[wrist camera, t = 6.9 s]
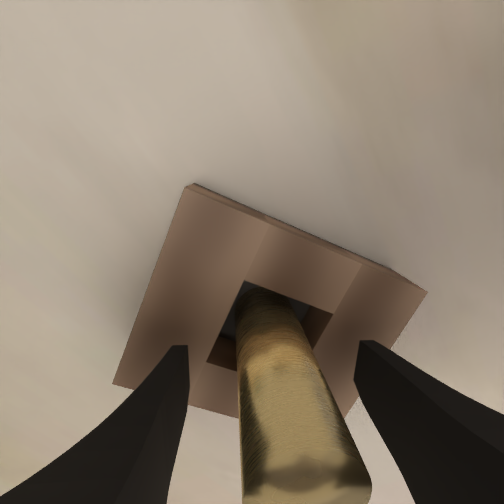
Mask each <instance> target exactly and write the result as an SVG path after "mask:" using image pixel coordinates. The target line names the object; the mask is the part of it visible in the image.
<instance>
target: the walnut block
mask: <svg viewBox="0 0 504 504" xmlns="http://www.w3.org/2000/svg"><path fill="white" fill-rule="evenodd" d="M259 286H261V287H264V288H266V289H269V290H272V291H274V292H277V293H280V294H282V295H285V296H287V297H288V298H289V300H290V302H291V305H292V307H293V309H294V311H295V313H296V316H297V318H298V320H299V322H300V324H301V326H302V329H303V331H304V333H305V335H306V337H307V340H308V342H309V344H310V346H311V348H312V351H313V353H314V355H315V357H316V359H317V361H318V364H319V366H320V368H321V370H322V372H323V375H324V377H325V379H326V381H327V383H328V386H329V388H330V390H331V392H332V394H333V396H334V399H335V401H336V403H337V405H338V407H339V410H340V412H341V414H342V416H343V418H345V416H346V415H347V413H348V412H349V410H350V409H351V407H352V406H353V404H354V403H355V401H356V400H357V398H358V397H359V393H358V391H357V388H356V386H355V383H354V381H353V378H354V372H355V366H356V359H357V353H358V347H359V341H360V340H374V341H376V342H378V343H380V344H381V345H383V346H385V347H386V348H388V349H389V350H390V349H391V347H392V346H393V344H394V342H395V341H396V339H397V338H398V336H399V335H400V333H401V332H402V330H403V329H404V327H405V326H406V324H407V323H408V321H409V320H410V318H411V317H412V315H413V314H414V312H415V311H416V309H417V308H418V306H419V305H420V303H421V302H422V300H423V299H424V297H425V296H426V294H427V293H428V292H427V291H425V290H424V289H422V288H420V287H419V286H417V285H416V284H414V283H412V282H411V281H409V280H408V279H406V278H405V277H403V276H401V275H400V274H398V273H397V272H395V271H393V270H392V269H389V268H387V267H385V266H383V265H380V264H378V263H376V262H373V261H371V260H369V259H367V258H364V257H362V256H360V255H357V254H355V253H353V252H351V251H348V250H346V249H344V248H341V247H339V246H337V245H335V244H332V243H330V242H328V241H325V240H323V239H321V238H319V237H316V236H314V235H312V234H309V233H307V232H305V231H303V230H300V229H298V228H296V227H293V226H291V225H289V224H287V223H284V222H282V221H280V220H277V219H275V218H273V217H271V216H268V215H266V214H264V213H261V212H259V211H257V210H255V209H252V208H250V207H248V206H245V205H243V204H241V203H238V202H236V201H234V200H232V199H229V198H227V197H225V196H222V195H220V194H218V193H216V192H213V191H211V190H209V189H206V188H204V187H202V186H200V185H197V184H195V183H193V184H191V185H189V186H187V187H185V188H184V190H183V193H182V196H181V198H180V201H179V204H178V207H177V209H176V212H175V215H174V217H173V220H172V223H171V226H170V228H169V231H168V234H167V236H166V239H165V242H164V245H163V247H162V250H161V253H160V255H159V258H158V261H157V264H156V266H155V269H154V272H153V274H152V277H151V280H150V283H149V285H148V288H147V291H146V293H145V296H144V299H143V302H142V304H141V307H140V310H139V312H138V315H137V318H136V321H135V323H134V326H133V329H132V331H131V334H130V337H129V340H128V342H127V345H126V348H125V350H124V353H123V356H122V359H121V361H120V364H119V367H118V369H117V372H116V375H115V378H114V380H113V383H112V384H114V385H118V386H122V387H125V388H129V389H133V390H135V389H136V388H137V387H138V386H139V385H140V384H141V383H142V382H143V381H144V379H145V378H146V377H147V376H148V375H149V373H150V372H151V371H152V370H153V369H154V368H155V366H156V365H157V364H158V363H159V361H160V360H161V359H162V358H163V356H164V355H165V354H166V352H167V351H168V350H169V348H170V347H171V346H172V345H188V355H189V374H190V391H189V399H188V405H191V406H195V407H198V408H202V409H205V410H209V411H213V412H216V413H220V414H224V415H227V416H231V417H235V418H238V419H239V406H238V381H237V356H236V332H235V307H236V304H237V302H238V300H239V299H240V297H241V296H242V295H243V294H244V293H245V292H247V291H248V290H250V289H252V288H255V287H259Z"/></svg>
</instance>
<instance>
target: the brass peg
mask: <svg viewBox="0 0 504 504" xmlns="http://www.w3.org/2000/svg"><path fill="white" fill-rule="evenodd" d="M235 332H236V356H237V381H238V406H239V431H240V456H241V481H242V504H368V502H369V500H370V497H371V492H372V482H371V478H370V475H369V473H368V471H367V469H366V466H365V464H364V462H363V460H362V458H361V455H360V453H359V451H358V449H357V447H356V445H355V442H354V440H353V438H352V436H351V434H350V431H349V429H348V427H347V425H346V423H345V420H344V418H343V416H342V414H341V412H340V410H339V407H338V405H337V403H336V401H335V399H334V396H333V394H332V392H331V390H330V388H329V386H328V383H327V381H326V379H325V377H324V375H323V372H322V370H321V368H320V366H319V364H318V361H317V359H316V357H315V355H314V353H313V351H312V348H311V346H310V344H309V342H308V340H307V337H306V335H305V333H304V331H303V329H302V326H301V324H300V322H299V320H298V318H297V316H296V313H295V311H294V309H293V307H292V305H291V302H290V300H289V298H288V297H287V296H285V295H282V294H280V293H277V292H274V291H272V290H269V289H266V288H264V287H261V286H259V287H255V288H252V289H250V290H248V291H247V292H245V293H244V294H243V295H242V296H241V297H240V299H239V300H238V302H237V304H236V307H235Z"/></svg>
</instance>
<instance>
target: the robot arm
mask: <svg viewBox="0 0 504 504" xmlns="http://www.w3.org/2000/svg"><path fill="white" fill-rule="evenodd" d="M353 381H354V383H355V386H356V388H357V391H358V393H359V396H360V398H361V400H362V403H363V405H364V407H365V408H366V410H367V412H368V414H369V416H370V417H371V419H372V421H373V423H374V425H375V426H376V428H377V430H378V432H379V433H380V435H381V437H382V439H383V441H384V442H385V444H386V446H387V448H388V449H389V451H390V453H391V455H392V456H393V458H394V460H395V462H396V464H397V466H398V468H399V470H400V471H401V473H402V475H403V477H404V480H405V482H406V484H407V486H408V488H409V491H410V493H411V495H412V497H413V499H414V501H415V504H504V415H503V414H501V413H499V412H497V411H495V410H493V409H491V408H488V407H486V406H485V405H483V404H481V403H479V402H477V401H475V400H473V399H471V398H469V397H467V396H465V395H463V394H461V393H460V392H458V391H456V390H454V389H452V388H451V387H449V386H447V385H445V384H444V383H442V382H440V381H439V380H437V379H435V378H433V377H432V376H430V375H429V374H427V373H425V372H424V371H422V370H421V369H419V368H417V367H416V366H414V365H413V364H411V363H410V362H408V361H406V360H405V359H403V358H402V357H400V356H399V355H397V354H396V353H394V352H393V351H391V350H389V349H388V348H386V347H385V346H383V345H381V344H380V343H378V342H376V341H374V340H360V341H359V347H358V353H357V359H356V366H355V372H354V378H353ZM189 391H190V374H189V355H188V345H172V346H171V347H170V348H169V350H168V351H167V352H166V354H165V355H164V356H163V358H162V359H161V360H160V361H159V363H158V364H157V365H156V366H155V368H154V369H153V370H152V371H151V372H150V373H149V375H148V376H147V377H146V378H145V379H144V381H143V382H142V383H141V384H140V385H139V386H138V387H137V388H136V389H135V390H134V391H133V392H132V394H131V395H130V396H129V397H128V398H127V399H126V400H125V401H124V402H123V403H122V404H121V405H120V406H119V407H118V408H117V409H116V410H115V411H114V412H113V413H112V414H111V415H109V416H108V417H107V418H106V419H105V420H104V421H103V422H102V423H101V424H99V425H98V426H97V427H96V428H95V429H94V430H92V431H91V432H90V433H89V434H88V435H86V436H85V437H84V438H83V439H81V440H80V441H79V442H78V443H76V444H75V445H74V446H73V447H71V448H70V449H69V450H68V451H66V452H65V453H64V454H62V455H61V456H59V457H58V458H57V459H55V460H54V461H53V462H51V463H50V464H48V465H47V466H46V467H44V468H43V469H41V470H40V471H38V472H37V473H36V474H34V475H33V476H31V477H30V478H28V479H27V480H25V481H24V482H22V483H21V484H19V485H18V486H16V487H15V488H13V489H11V490H10V491H8V492H7V493H5V494H3V495H2V496H0V504H166V503H167V496H168V490H169V485H170V480H171V476H172V471H173V467H174V463H175V459H176V455H177V451H178V447H179V442H180V438H181V434H182V430H183V426H184V421H185V417H186V413H187V406H188V399H189Z"/></svg>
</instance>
